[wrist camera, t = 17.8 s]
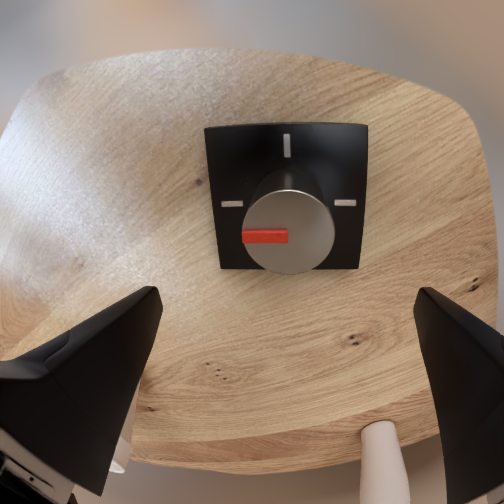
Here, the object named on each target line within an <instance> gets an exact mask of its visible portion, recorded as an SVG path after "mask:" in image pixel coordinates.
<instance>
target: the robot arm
mask: <svg viewBox="0 0 504 504" xmlns="http://www.w3.org/2000/svg"><path fill="white" fill-rule="evenodd" d="M162 312H163V305H162V301H161V298H160V294H159V291H158V289H157V287H155V286H145V287H143V288H141V289H139V290H138V291H136V292H134V293H132V294H130V295H129V296H127V297H125V298H123V299H122V300H120V301H118V302H116V303H115V304H113V305H111V306H109V307H108V308H106V309H104V310H102V311H101V312H99V313H97V314H95V315H94V316H92V317H90V318H88V319H87V320H85V321H83V322H82V323H80V324H78V325H76V326H75V327H73V328H71V330H68V331H66V332H64V333H63V334H61V335H59V336H57V337H56V338H54V339H52V340H50V341H48V342H46V343H45V344H43V345H41V346H39V347H37V348H35V349H33V350H31V351H29V352H27V353H25V354H23V355H21V356H19V357H17V358H15V359H12V360H8V361H0V504H78V503H77V501H76V498H75V496H74V494H73V493H72V490H73V488H74V485H75V484H76V485H78V486H80V487H82V488H84V489H86V490H88V491H89V492H91V493H94V494H96V495H98V496H100V497H101V495H102V492H103V489H104V485H105V482H106V479H107V475H108V472H109V469H110V465H111V462H112V459H113V456H114V453H115V450H116V447H115V446H117V443H118V440H119V437H120V434H121V431H122V428H123V425H124V422H125V419H126V416H127V414H128V411H129V408H130V405H131V402H132V400H133V397H134V394H135V391H136V389H137V386H138V383H139V381H140V378H141V375H142V373H143V370H144V368H145V365H146V362H147V360H148V357H149V355H150V352H151V350H152V347H153V344H154V340H155V337H156V333H157V330H158V326H159V322H160V319H161V316H162ZM413 313H414V318H415V323H416V328H417V333H418V338H419V343H420V348H421V352H422V356H423V360H424V363H425V367H426V371H427V374H428V378H429V382H430V386H431V391H432V395H433V399H434V404H435V409H436V414H437V419H438V424H439V430H440V436H441V442H442V449H443V456H444V467H445V477H446V489H447V504H468V503H470V502H472V501H474V500H477V499H479V498H481V497H483V496H485V495H487V501H488V504H504V336H503V335H500V333H499V332H497V331H496V330H495V329H493V328H492V327H490V326H489V325H487V324H486V323H485V322H483V321H482V320H480V319H479V318H477V317H476V316H474V315H473V314H471V313H470V312H469V311H467V310H466V309H464V308H463V307H461V306H460V305H458V304H457V303H455V302H453V301H452V300H450V299H449V298H447V297H446V296H444V295H443V294H441V293H440V292H438V291H436V290H435V289H433V288H432V287H421V288H420V289H419V291H418V294H417V298H416V301H415V304H414V308H413Z"/></svg>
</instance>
